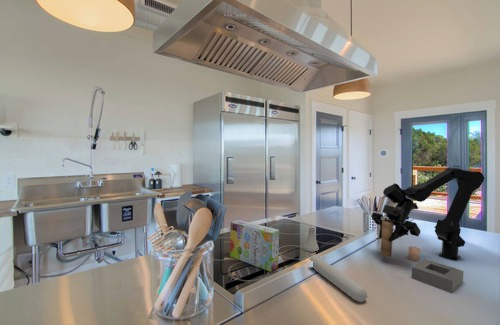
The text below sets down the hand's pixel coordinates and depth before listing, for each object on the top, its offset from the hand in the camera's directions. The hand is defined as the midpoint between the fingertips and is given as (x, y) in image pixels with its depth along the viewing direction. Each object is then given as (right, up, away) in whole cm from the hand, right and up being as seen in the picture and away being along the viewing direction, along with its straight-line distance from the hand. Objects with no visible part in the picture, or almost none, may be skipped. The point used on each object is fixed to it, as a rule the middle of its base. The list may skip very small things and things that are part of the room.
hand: (384, 239), depth 105 cm
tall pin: (+1, -7, +1) cm, 7 cm away
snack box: (-54, -9, -2) cm, 55 cm away
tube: (-26, -10, -17) cm, 33 cm away
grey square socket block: (+12, -11, -13) cm, 21 cm away
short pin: (+14, -10, +4) cm, 18 cm away
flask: (-27, -8, +12) cm, 31 cm away
